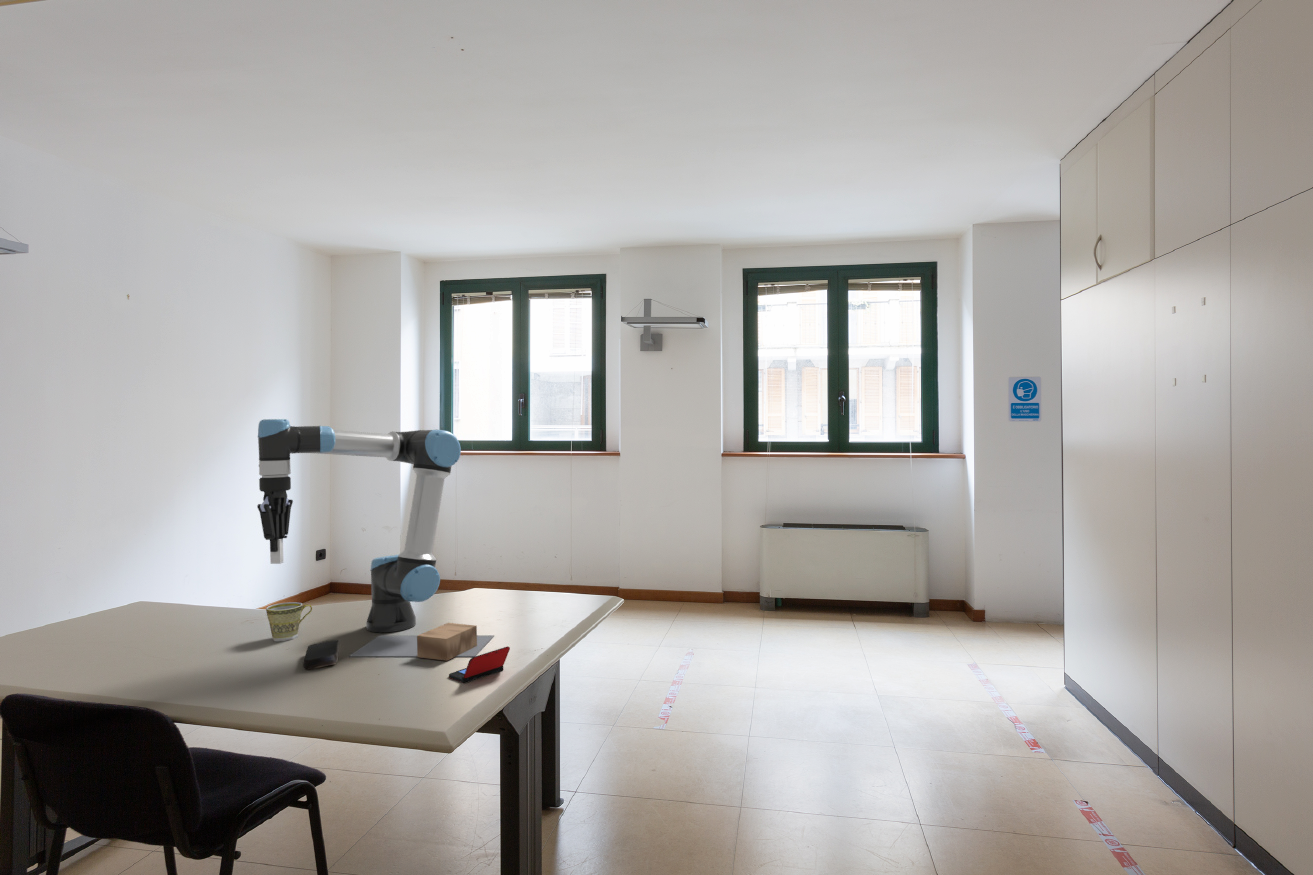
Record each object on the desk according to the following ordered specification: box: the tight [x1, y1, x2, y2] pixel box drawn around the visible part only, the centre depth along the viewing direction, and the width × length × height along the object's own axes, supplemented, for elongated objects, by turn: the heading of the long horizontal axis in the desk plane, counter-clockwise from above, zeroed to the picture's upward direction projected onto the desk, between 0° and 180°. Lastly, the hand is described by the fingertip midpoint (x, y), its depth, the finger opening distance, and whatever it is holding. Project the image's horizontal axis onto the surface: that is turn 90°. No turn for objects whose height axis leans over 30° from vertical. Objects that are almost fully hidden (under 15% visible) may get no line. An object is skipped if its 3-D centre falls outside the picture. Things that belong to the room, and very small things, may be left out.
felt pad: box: [348, 634, 495, 658], centre depth 213 cm, size 20×36×1 cm, turn 87°
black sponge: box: [302, 639, 340, 670], centre depth 201 cm, size 16×8×4 cm, turn 22°
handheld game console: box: [448, 646, 511, 684], centre depth 187 cm, size 12×11×7 cm
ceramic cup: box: [265, 601, 313, 642], centre depth 224 cm, size 13×10×10 cm
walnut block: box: [416, 622, 478, 661], centre depth 207 cm, size 6×10×14 cm
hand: (277, 563), depth 195 cm, fingers closed
